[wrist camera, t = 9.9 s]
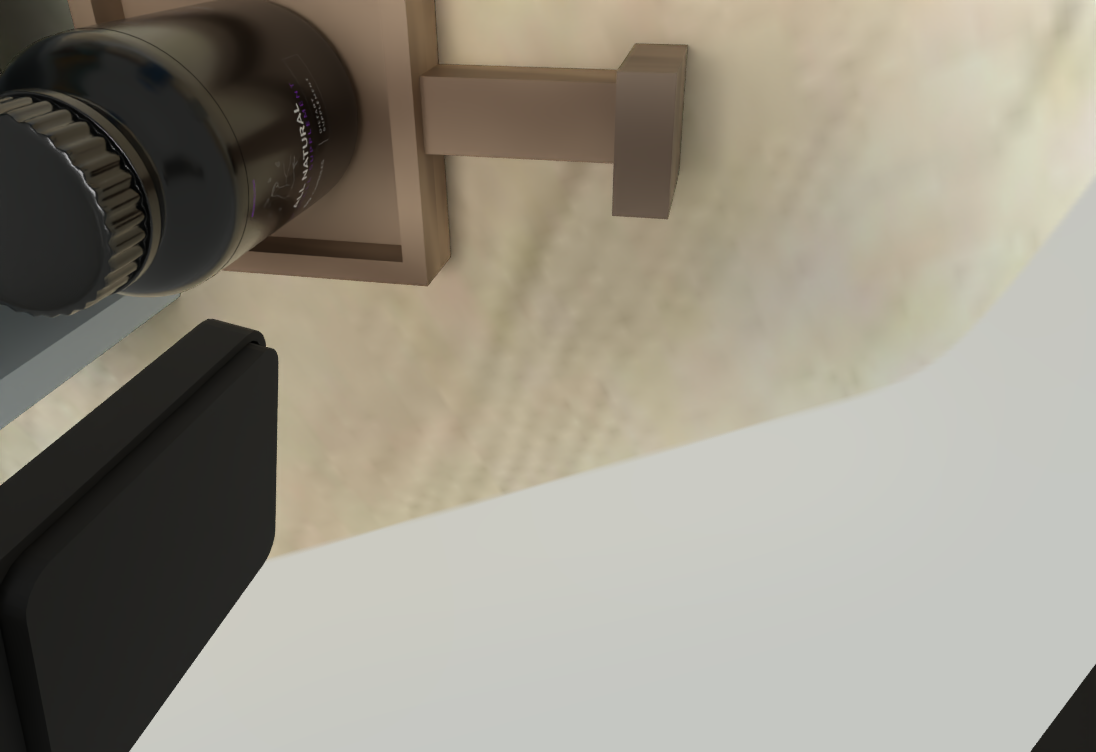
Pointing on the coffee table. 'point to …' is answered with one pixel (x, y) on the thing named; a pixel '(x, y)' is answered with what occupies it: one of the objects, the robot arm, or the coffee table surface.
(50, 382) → the shelf
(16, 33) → the coffee table surface
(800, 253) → the coffee table surface
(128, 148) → the supplement bottle
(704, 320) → the coffee table surface
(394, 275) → the paddle tray
